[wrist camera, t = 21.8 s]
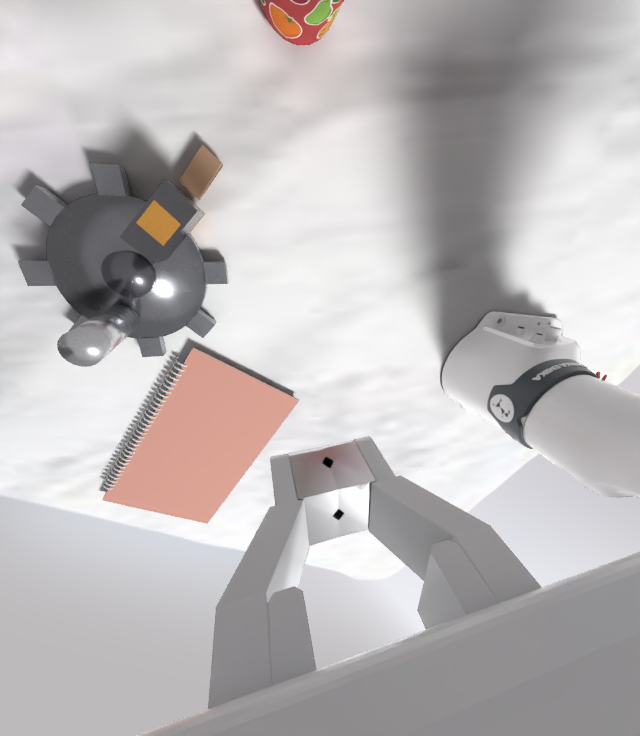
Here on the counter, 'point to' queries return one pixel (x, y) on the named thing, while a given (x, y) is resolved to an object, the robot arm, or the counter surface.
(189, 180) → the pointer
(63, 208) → the sprocket
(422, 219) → the counter surface
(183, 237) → the grey and orange block
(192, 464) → the notebook
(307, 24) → the smoothie
